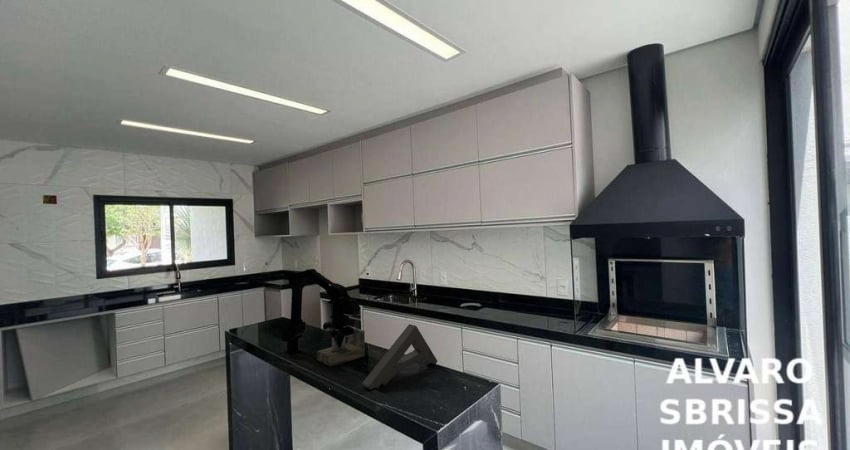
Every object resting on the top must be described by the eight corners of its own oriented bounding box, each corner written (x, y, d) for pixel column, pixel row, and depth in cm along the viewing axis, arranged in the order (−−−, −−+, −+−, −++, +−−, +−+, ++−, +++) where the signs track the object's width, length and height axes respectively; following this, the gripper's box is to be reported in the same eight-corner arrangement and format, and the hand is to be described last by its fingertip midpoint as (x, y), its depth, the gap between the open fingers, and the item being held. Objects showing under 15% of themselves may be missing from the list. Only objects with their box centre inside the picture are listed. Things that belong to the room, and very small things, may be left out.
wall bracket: (388, 418, 138) (430, 358, 155) (396, 422, 135) (437, 361, 152) (361, 383, 129) (409, 324, 147) (368, 386, 126) (416, 325, 144)
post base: (317, 359, 159) (317, 333, 159) (350, 350, 172) (350, 326, 172) (330, 366, 151) (330, 339, 151) (364, 356, 163) (364, 330, 164)
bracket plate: (331, 354, 159) (331, 337, 159) (343, 351, 163) (343, 334, 164) (334, 355, 158) (334, 338, 158) (345, 352, 162) (345, 335, 162)
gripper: (364, 313, 160) (364, 347, 159) (342, 307, 173) (342, 338, 173) (343, 317, 152) (343, 353, 152) (322, 311, 165) (322, 344, 165)
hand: (338, 346), depth 160 cm, fingers closed on bracket plate, 2 cm apart
